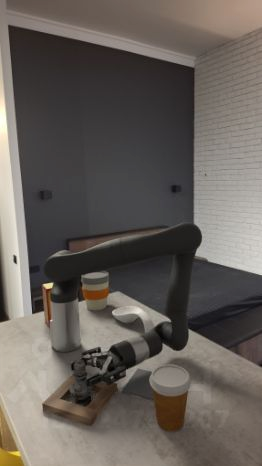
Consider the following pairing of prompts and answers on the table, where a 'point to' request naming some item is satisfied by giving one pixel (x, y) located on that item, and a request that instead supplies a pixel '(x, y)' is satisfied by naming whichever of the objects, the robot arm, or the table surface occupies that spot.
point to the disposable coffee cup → (170, 395)
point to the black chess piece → (80, 385)
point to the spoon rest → (133, 316)
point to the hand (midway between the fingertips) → (78, 374)
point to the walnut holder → (78, 412)
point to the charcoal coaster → (139, 385)
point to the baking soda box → (47, 302)
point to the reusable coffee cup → (95, 289)
